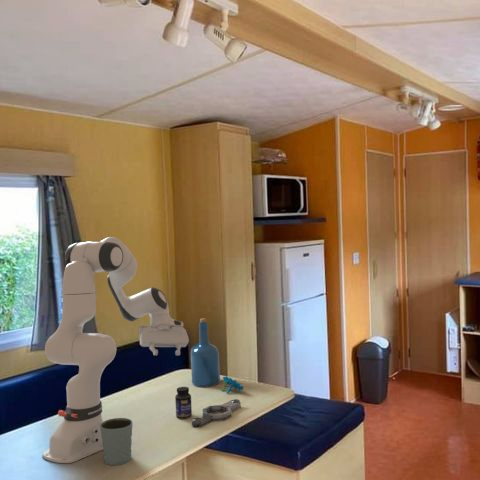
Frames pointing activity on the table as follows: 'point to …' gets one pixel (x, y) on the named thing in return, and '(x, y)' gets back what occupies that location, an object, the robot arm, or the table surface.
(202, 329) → the wine bottle
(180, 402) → the pill bottle
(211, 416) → the octagon ring handle
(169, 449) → the table surface
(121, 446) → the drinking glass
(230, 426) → the table surface
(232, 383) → the blue jointed connector toy
